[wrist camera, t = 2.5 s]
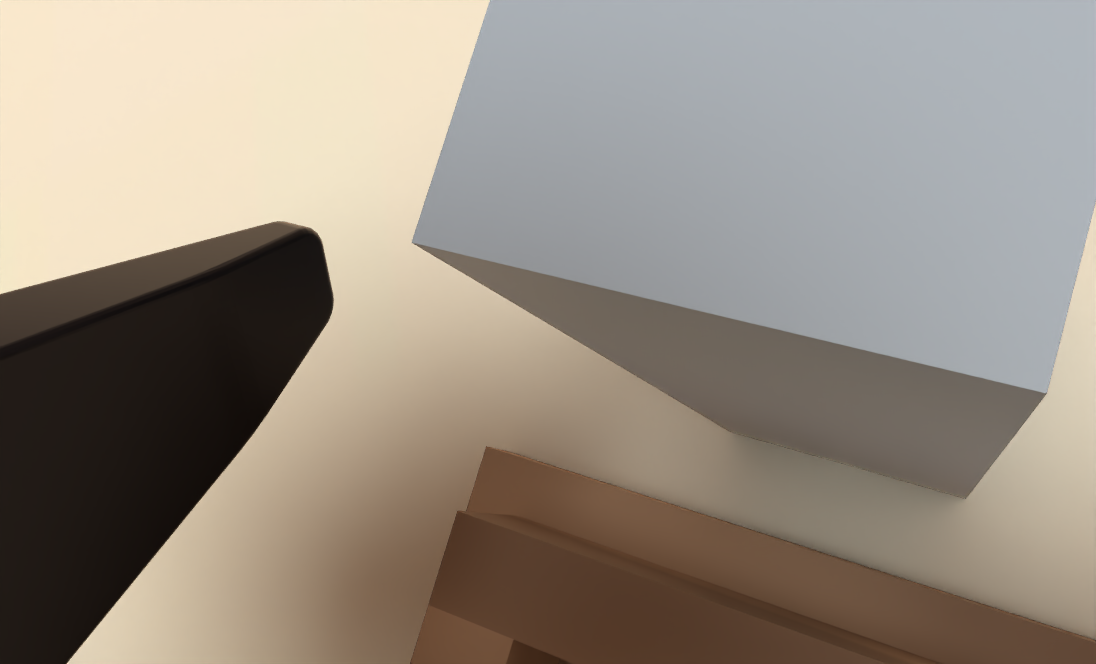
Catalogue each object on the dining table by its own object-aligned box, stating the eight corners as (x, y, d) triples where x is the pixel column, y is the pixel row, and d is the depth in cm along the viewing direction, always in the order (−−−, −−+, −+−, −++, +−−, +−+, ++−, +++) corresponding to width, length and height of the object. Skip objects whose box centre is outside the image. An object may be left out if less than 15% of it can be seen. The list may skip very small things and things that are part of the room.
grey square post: (965, 498, 16) (1047, 392, 5) (730, 431, 18) (412, 242, 7) (1025, 267, 17) (1220, -284, 6) (790, 221, 18) (581, -280, 7)
